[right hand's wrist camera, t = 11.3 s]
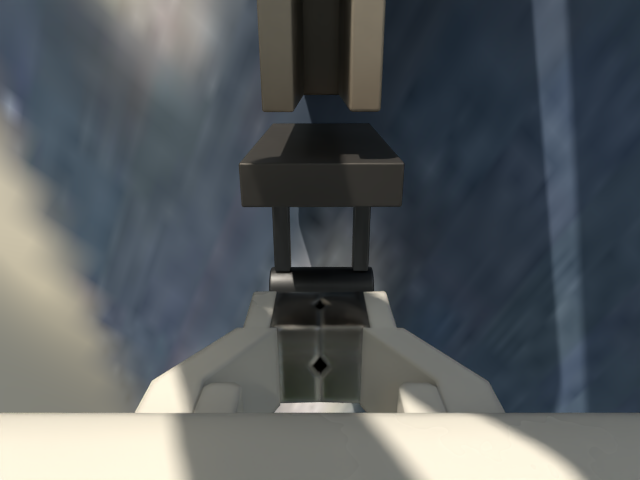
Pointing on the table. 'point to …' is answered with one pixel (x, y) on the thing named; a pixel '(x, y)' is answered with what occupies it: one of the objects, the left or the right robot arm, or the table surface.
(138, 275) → the table surface
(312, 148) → the drawer
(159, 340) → the table surface
